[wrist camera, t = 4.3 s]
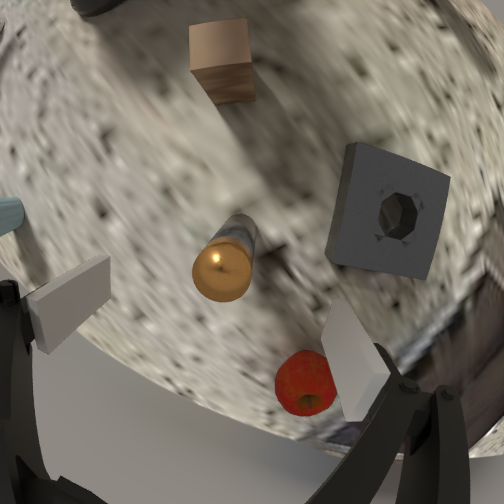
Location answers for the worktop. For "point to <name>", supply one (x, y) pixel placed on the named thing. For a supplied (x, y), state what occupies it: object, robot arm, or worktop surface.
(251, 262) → the round bit
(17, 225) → the cup
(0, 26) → the power drill
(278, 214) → the worktop surface
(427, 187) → the holder plate
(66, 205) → the worktop surface
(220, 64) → the square bit
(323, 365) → the apple
